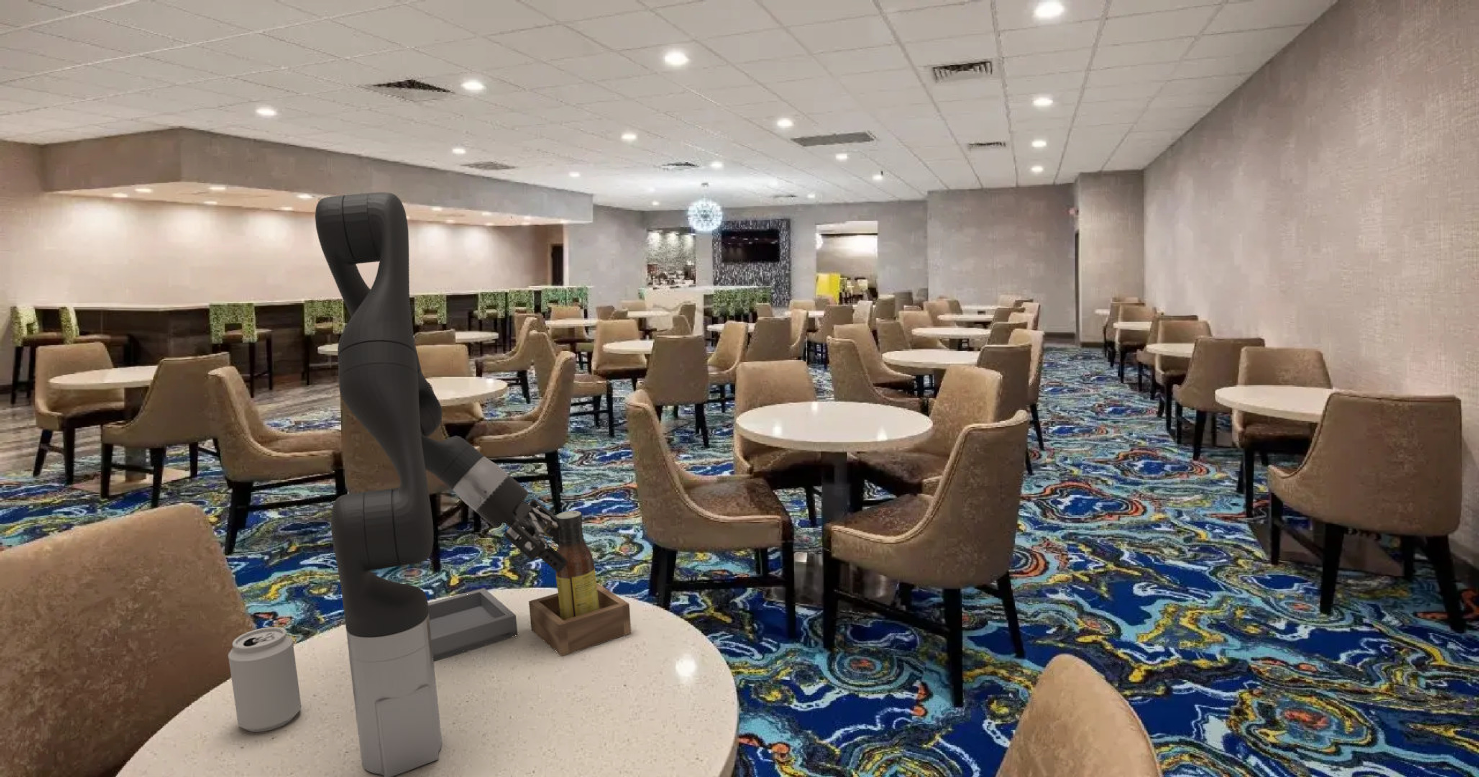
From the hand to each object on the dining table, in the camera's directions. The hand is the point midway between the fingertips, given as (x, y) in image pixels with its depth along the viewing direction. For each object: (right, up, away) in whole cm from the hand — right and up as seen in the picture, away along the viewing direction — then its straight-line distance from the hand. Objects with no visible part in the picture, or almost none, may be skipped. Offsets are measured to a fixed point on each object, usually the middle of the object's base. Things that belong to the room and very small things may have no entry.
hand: (568, 557), depth 132 cm
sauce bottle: (+2, -13, +2) cm, 13 cm away
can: (-36, -18, -21) cm, 45 cm away
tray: (-19, -13, +3) cm, 23 cm away
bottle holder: (+2, -12, +2) cm, 13 cm away
